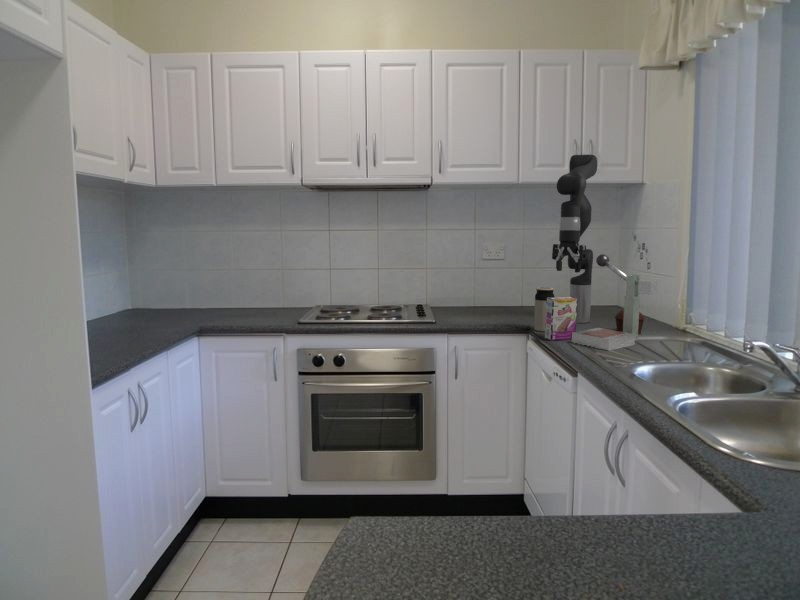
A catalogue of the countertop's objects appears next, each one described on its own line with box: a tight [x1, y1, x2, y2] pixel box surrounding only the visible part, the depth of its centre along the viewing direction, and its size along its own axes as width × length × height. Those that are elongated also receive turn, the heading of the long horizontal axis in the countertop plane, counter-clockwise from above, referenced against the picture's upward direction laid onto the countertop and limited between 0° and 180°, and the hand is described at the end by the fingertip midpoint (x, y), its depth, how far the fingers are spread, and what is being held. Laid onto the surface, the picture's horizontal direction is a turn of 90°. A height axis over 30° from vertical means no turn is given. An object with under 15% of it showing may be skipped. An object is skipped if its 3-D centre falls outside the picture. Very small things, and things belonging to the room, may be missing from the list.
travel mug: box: [533, 286, 556, 333], centre depth 236 cm, size 8×8×18 cm
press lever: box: [595, 253, 658, 296], centre depth 218 cm, size 25×5×14 cm, turn 35°
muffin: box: [614, 308, 645, 335], centre depth 229 cm, size 12×11×10 cm
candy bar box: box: [544, 296, 577, 342], centre depth 218 cm, size 11×5×16 cm, turn 108°
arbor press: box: [571, 274, 641, 351], centre depth 211 cm, size 16×26×25 cm, turn 125°
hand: (568, 271), depth 215 cm, fingers open, 8 cm apart
